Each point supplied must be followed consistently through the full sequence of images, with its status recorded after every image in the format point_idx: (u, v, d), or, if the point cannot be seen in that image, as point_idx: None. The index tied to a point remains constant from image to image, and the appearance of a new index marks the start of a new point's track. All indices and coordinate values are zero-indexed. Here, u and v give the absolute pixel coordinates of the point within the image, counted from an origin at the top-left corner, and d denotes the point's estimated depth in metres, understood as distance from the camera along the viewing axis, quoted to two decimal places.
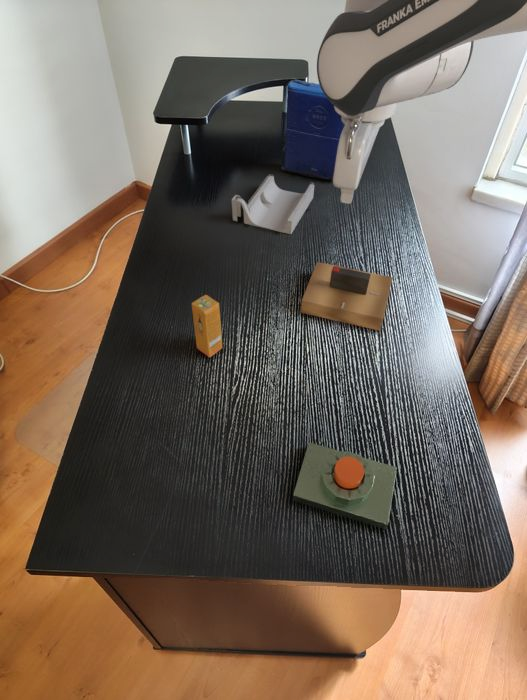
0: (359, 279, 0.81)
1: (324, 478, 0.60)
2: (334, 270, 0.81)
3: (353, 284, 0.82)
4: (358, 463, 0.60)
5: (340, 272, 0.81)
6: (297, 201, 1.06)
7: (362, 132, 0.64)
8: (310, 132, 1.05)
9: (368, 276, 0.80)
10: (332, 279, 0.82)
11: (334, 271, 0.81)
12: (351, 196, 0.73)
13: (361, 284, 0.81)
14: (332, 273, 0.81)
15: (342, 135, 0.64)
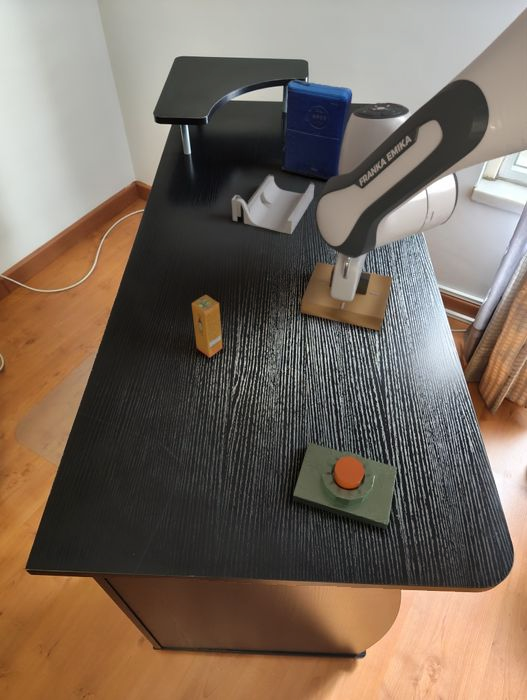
0: (359, 279, 0.81)
1: (324, 478, 0.60)
2: None
3: None
4: (358, 463, 0.60)
5: None
6: (297, 201, 1.06)
7: None
8: (310, 132, 1.05)
9: (368, 276, 0.80)
10: (332, 279, 0.82)
11: None
12: None
13: (361, 284, 0.81)
14: (332, 273, 0.81)
15: (339, 257, 0.69)
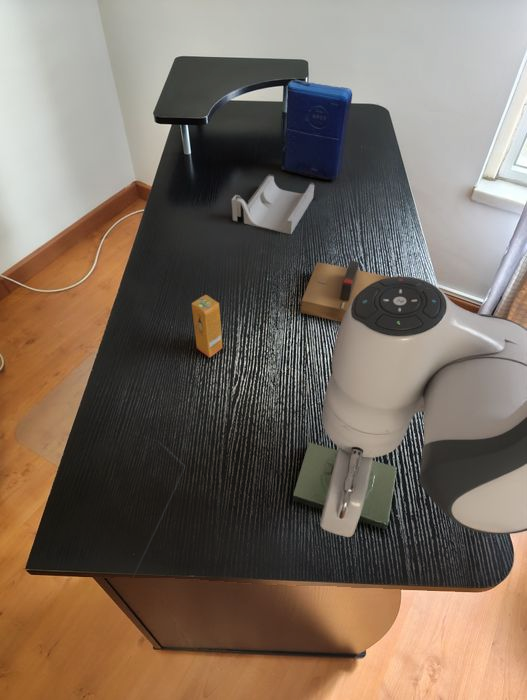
0: (357, 269, 0.82)
1: (324, 478, 0.60)
2: (350, 282, 0.79)
3: (355, 278, 0.83)
4: None
5: (351, 279, 0.80)
6: (297, 201, 1.06)
7: (360, 484, 0.46)
8: (310, 132, 1.05)
9: (354, 262, 0.83)
10: (350, 291, 0.80)
11: (351, 283, 0.79)
12: None
13: (356, 272, 0.83)
14: (351, 286, 0.79)
15: (332, 489, 0.46)
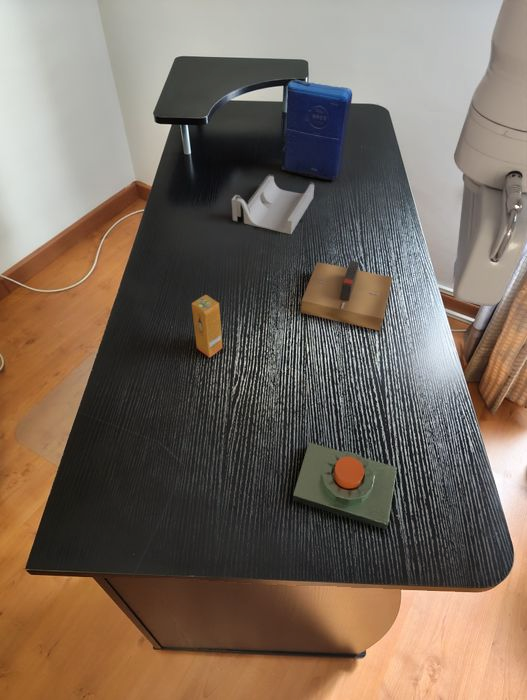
0: (357, 269, 0.82)
1: (324, 478, 0.60)
2: (350, 282, 0.79)
3: (355, 278, 0.83)
4: (358, 463, 0.60)
5: (351, 279, 0.80)
6: (297, 201, 1.06)
7: (521, 214, 0.35)
8: (310, 132, 1.05)
9: (354, 262, 0.83)
10: (350, 291, 0.80)
11: (351, 283, 0.79)
12: None
13: (356, 272, 0.83)
14: (351, 286, 0.79)
15: (486, 220, 0.35)
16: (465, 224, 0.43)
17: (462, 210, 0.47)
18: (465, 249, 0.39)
